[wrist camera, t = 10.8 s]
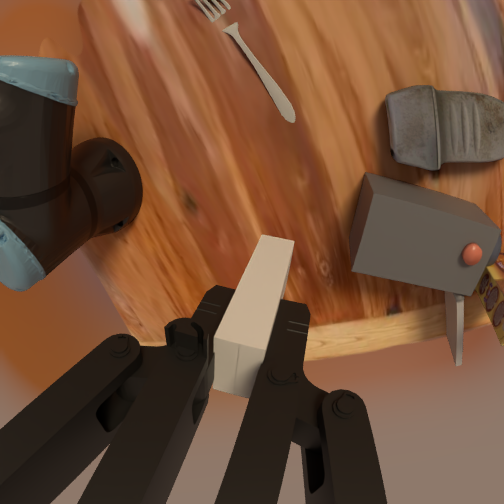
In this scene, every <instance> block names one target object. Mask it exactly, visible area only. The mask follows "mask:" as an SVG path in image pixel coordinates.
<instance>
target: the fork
mask: <svg viewBox="0 0 504 504" xmlns="http://www.w3.org/2000/svg"><path fill="white" fill-rule="evenodd" d="M195 1H196V3H197V4H198V5H199V6H200V8H201V9H202V10H203V12H204V13H205V14H206V16H207V17H208V19H209V20H210V21H211V22H214V21H215V20H216V19H218V18H219V17H220V14H218V13H217V12H216V10H215V9H214V8H213V7H212V6H211V5H210V3H209V2H208V1H207V0H203V1H204V3H205V4H206V5H207V6H208V7H209V9H210V10H211V11H212V13H213V14H214V15H215V19H214V18H212V17H211V15H210V14H209V13H208V11H207V10H206V9H205V8H204V6H203V5H202V4H201V3H200V1H199V0H195ZM211 1H212V2H213V3H214V4H215V5H216V6H217V8H218V9H219V10H220V11H221V14H224V13H225V12H226V10H224V9H223V8H222V7H221V6H220V5H219V3H218V2H217V1H216V0H211ZM220 1H221V2H222V3H223V4H224V5H225V6H226V7H227V9H231V7H230V6H229V4H228V3H227V2H226V1H225V0H220ZM223 32H225V33H228V34H230V35H231V36H233V38H234V39H235V40H236V41H237V43H238V44H239V45H240V47H241V48H242V50H243V51H244V52H245V54H246V55H247V57H248V58H249V60H250V61H251V63H252V64H253V66H254V68H255V69H256V71H257V73H258V74H259V76H260V78H261V79H262V81H263V83H264V85H265V87H266V88H267V90H268V92H269V94H270V95H271V97H272V99H273V100H274V102H275V104H276V106H277V108H278V109H279V111H280V113H281V114H282V116H283V117H284V118H285V119H286V120H287V121H289V122H292V123H294V122H295V112H294V110H293V107H292V105H291V103H290V102H289V100H288V99H287V98H286V96H285V95H284V93H283V92H282V91H281V89H280V88H279V86H278V85H277V84H276V82H275V81H274V80H273V79H272V77H271V76H270V75H269V74H268V73H267V71H266V70H265V69H264V68H263V66H262V65H261V64H260V63H259V61H258V60H257V59H256V58H255V56H254V55H253V54H252V52H251V51H250V50H249V48H248V47H247V46H246V44H245V43H244V42H243V40H242V38H241V37H240V35H239V33H238V22H236V23H234V24H232V25H230V26H229V27H227V28H225V29H224V30H223Z"/></svg>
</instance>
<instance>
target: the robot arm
mask: <svg viewBox="0 0 504 504" xmlns="http://www.w3.org/2000/svg"><path fill="white" fill-rule="evenodd" d="M78 78H79V72H78V68H77V66H76V65H75V64H74V63H73V62H71V61H69V60H64V59H56V58H46V57H32V56H0V282H1V283H3V284H4V285H5V286H7V287H8V288H10V289H12V290H15V291H25V290H27V289H29V288H30V287H31V286H33V285H34V284H35V283H37V282H38V281H39V280H42V279H44V278H45V277H46V276H47V275H48V274H49V273H50V272H51V271H52V270H53V269H55V268H56V267H57V266H58V265H59V264H60V263H61V262H63V261H64V260H65V259H66V258H67V257H68V256H69V255H71V254H72V253H73V252H74V251H75V250H77V249H78V248H79V247H80V246H82V245H83V244H84V243H85V242H86V241H88V240H89V239H90V238H93V237H98V236H102V235H106V234H110V233H114V232H117V231H119V230H121V229H122V228H124V227H125V226H126V225H127V224H129V223H130V222H131V221H132V220H133V219H134V218H135V217H136V215H137V213H138V211H139V209H140V206H141V202H142V182H141V177H140V174H139V171H138V168H137V166H136V164H135V162H134V160H133V159H132V157H131V156H130V154H129V153H128V152H127V151H126V150H125V149H124V148H123V147H122V146H121V145H119V144H118V143H116V142H115V141H113V140H110V139H107V138H93V139H90V140H87V141H85V142H82V143H80V144H78V145H77V146H76V147H74V148H73V149H72V136H73V125H74V115H75V107H76V106H77V104H78V101H77V100H76V98H77V87H78ZM294 242H295V241H292V240H287V239H282V238H277V237H272V236H267V235H262V236H261V238H260V240H259V242H258V244H257V246H256V248H255V250H254V253H253V255H252V257H251V259H250V261H249V263H248V265H247V268H246V270H245V272H244V274H243V276H242V278H241V280H240V282H239V285H238V287H237V289H236V290H235V289H231V288H227V287H222V286H218V285H216V286H214V287H213V288H211V289H210V290H208V291H207V292H206V294H205V295H204V297H203V299H202V301H201V302H200V304H199V306H198V307H197V310H196V311H195V312H194V314H193V316H192V318H179V319H175V320H173V321H171V322H169V323H168V324H167V325H166V326H165V327H164V328H165V336H166V343H167V345H166V346H158V347H154V346H140V344H139V341H138V340H137V339H136V338H135V337H133V336H131V335H128V334H116V335H112V336H111V337H109V338H107V339H106V340H104V341H103V342H102V343H101V344H100V345H98V346H97V347H96V348H95V349H93V350H92V351H91V352H90V353H89V354H87V355H86V356H85V357H84V358H83V359H81V360H80V361H79V362H78V363H77V364H75V365H74V366H73V367H72V368H71V369H70V370H69V371H67V372H66V373H65V374H64V375H63V376H61V377H60V378H59V379H58V380H57V381H55V382H54V383H53V384H52V385H51V386H50V387H49V388H47V389H46V390H45V391H44V392H43V393H41V395H39V396H38V397H37V398H36V399H34V400H33V401H32V402H31V403H30V404H29V405H28V406H26V407H25V408H24V409H23V410H22V411H21V412H19V413H18V414H17V415H16V416H15V417H14V418H13V419H12V420H10V421H9V422H8V423H7V424H6V425H5V426H4V427H3V428H1V429H0V504H50V503H51V502H52V501H53V500H54V499H55V498H56V497H57V496H58V495H59V494H60V493H61V492H62V491H63V490H64V489H65V488H66V487H67V486H68V485H69V484H70V483H71V482H72V481H74V479H76V477H77V476H79V475H80V473H81V472H82V471H83V470H84V469H85V468H86V467H87V466H88V465H89V464H90V463H91V462H92V461H93V460H94V459H95V458H96V457H97V456H98V455H99V454H100V453H101V452H102V451H103V450H104V449H105V448H106V447H107V446H108V445H109V444H110V445H109V447H108V449H107V450H106V452H105V454H104V456H103V457H102V459H101V461H100V463H99V465H98V467H97V468H96V470H95V472H94V474H93V476H92V477H91V480H90V481H89V483H88V485H87V487H86V489H85V490H84V492H83V494H82V496H81V498H80V500H79V501H78V503H77V504H166V502H167V499H168V497H169V495H170V492H171V490H172V487H173V485H174V483H175V480H176V478H177V476H178V473H179V471H180V468H181V466H182V464H183V461H184V459H185V457H186V454H187V452H188V449H189V447H190V445H191V442H192V439H193V437H194V435H195V432H196V430H197V428H198V425H199V423H200V420H201V418H202V415H203V413H204V411H205V408H206V406H207V403H208V398H209V391H210V388H211V386H212V383H213V389H216V390H220V391H223V392H226V393H230V394H234V395H238V396H241V397H245V398H249V402H248V405H247V409H246V412H245V415H244V418H243V421H242V424H241V427H240V431H239V433H238V437H237V440H236V442H235V446H234V449H233V452H232V455H231V458H230V460H229V463H228V466H227V469H226V472H225V476H224V478H223V481H222V484H221V487H220V490H219V493H218V495H217V498H216V501H215V504H277V501H278V497H279V493H280V489H281V485H282V481H283V476H284V471H285V467H286V463H287V458H288V454H289V449H290V444H291V441H292V442H294V443H296V444H298V445H300V446H301V454H302V465H303V477H304V488H305V500H306V504H387V500H386V495H385V490H384V485H383V480H382V475H381V470H380V465H379V460H378V456H377V452H376V447H375V443H374V438H373V434H372V430H371V426H370V422H369V418H368V414H367V410H366V406H365V404H364V402H363V400H362V399H361V398H360V397H359V396H358V395H357V394H355V393H353V392H351V391H349V390H342V389H340V390H335V391H332V392H331V393H328V392H326V391H324V390H321V389H319V388H318V387H316V386H314V385H313V384H312V383H311V382H310V381H308V379H307V378H306V376H305V374H304V371H303V362H304V355H305V349H306V342H307V336H308V329H309V322H310V312H309V310H308V307H307V305H306V304H302V303H297V302H293V301H288V300H283V296H284V292H285V287H286V282H287V278H288V273H289V268H290V262H291V257H292V252H293V247H294Z"/></svg>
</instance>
